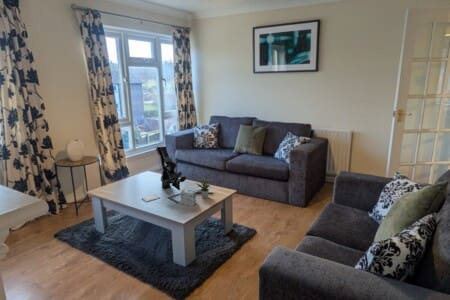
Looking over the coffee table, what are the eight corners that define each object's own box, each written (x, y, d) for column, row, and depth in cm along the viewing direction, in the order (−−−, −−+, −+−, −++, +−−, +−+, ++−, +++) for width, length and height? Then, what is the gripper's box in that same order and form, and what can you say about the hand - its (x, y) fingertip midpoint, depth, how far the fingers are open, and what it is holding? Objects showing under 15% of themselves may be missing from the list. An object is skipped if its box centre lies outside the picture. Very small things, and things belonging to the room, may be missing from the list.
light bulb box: (196, 202, 234) (196, 189, 231) (193, 206, 228) (193, 193, 225) (184, 201, 237) (183, 188, 234) (180, 204, 230) (180, 191, 228)
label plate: (155, 194, 250) (154, 194, 249) (159, 198, 243) (159, 197, 243) (141, 198, 242) (141, 197, 242) (146, 202, 236) (146, 201, 235)
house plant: (207, 191, 255) (206, 173, 251) (217, 196, 245) (217, 177, 241) (193, 196, 246) (193, 177, 242) (203, 201, 236) (203, 182, 232)
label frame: (181, 193, 252) (181, 193, 252) (190, 198, 241) (190, 198, 241) (167, 197, 244) (167, 197, 244) (176, 203, 233) (176, 202, 233)
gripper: (164, 171, 234) (172, 188, 228) (185, 166, 245) (192, 182, 240) (160, 178, 241) (168, 194, 236) (180, 173, 253) (187, 188, 248)
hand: (179, 190), depth 240 cm, fingers closed
